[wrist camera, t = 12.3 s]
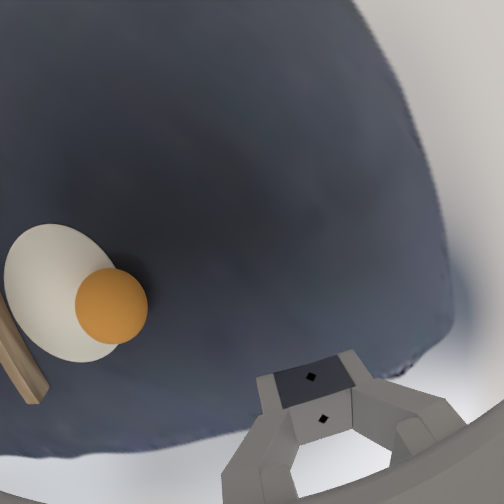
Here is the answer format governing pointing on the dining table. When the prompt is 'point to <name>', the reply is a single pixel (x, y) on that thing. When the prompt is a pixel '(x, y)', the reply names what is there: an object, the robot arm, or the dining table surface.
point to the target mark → (53, 289)
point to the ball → (111, 306)
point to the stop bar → (19, 360)
